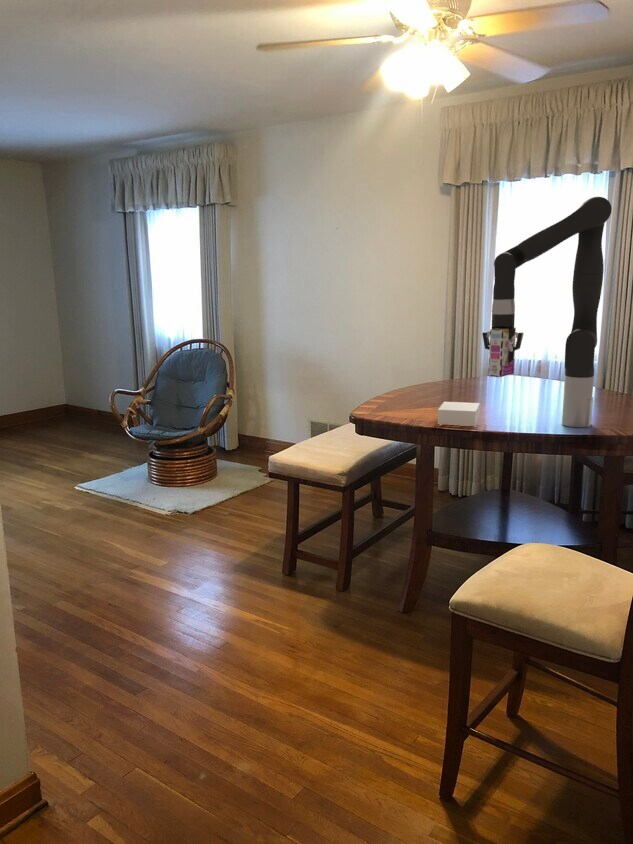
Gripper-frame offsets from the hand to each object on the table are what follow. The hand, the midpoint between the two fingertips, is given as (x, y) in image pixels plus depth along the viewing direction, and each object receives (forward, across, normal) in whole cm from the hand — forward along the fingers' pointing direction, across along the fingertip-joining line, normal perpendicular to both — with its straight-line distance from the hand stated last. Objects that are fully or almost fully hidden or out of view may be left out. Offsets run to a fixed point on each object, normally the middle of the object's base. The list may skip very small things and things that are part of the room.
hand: (501, 361), depth 229 cm
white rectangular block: (+22, +14, +4) cm, 26 cm away
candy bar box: (+5, 0, 0) cm, 5 cm away
